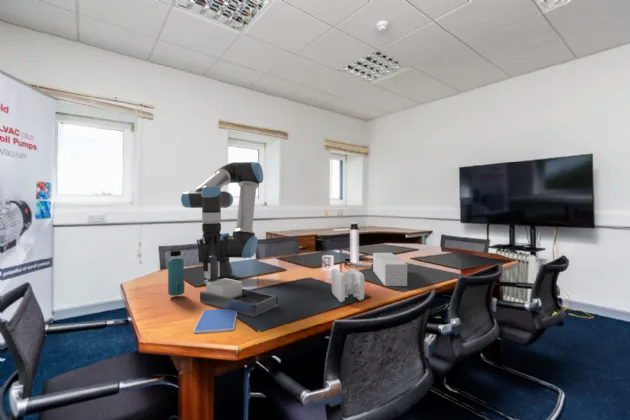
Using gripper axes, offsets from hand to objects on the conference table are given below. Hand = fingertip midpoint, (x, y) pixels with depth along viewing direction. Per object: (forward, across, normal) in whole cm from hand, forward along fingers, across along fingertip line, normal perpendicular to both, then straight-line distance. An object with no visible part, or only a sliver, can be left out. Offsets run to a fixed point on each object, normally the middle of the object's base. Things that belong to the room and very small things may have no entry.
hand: (212, 277), depth 129 cm
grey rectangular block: (+9, -73, +52) cm, 90 cm away
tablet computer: (+9, +15, +22) cm, 28 cm away
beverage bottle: (+9, +8, -14) cm, 18 cm away
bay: (+9, 0, +16) cm, 18 cm away
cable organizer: (+9, -31, +48) cm, 58 cm away
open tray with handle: (+7, 0, +5) cm, 9 cm away
